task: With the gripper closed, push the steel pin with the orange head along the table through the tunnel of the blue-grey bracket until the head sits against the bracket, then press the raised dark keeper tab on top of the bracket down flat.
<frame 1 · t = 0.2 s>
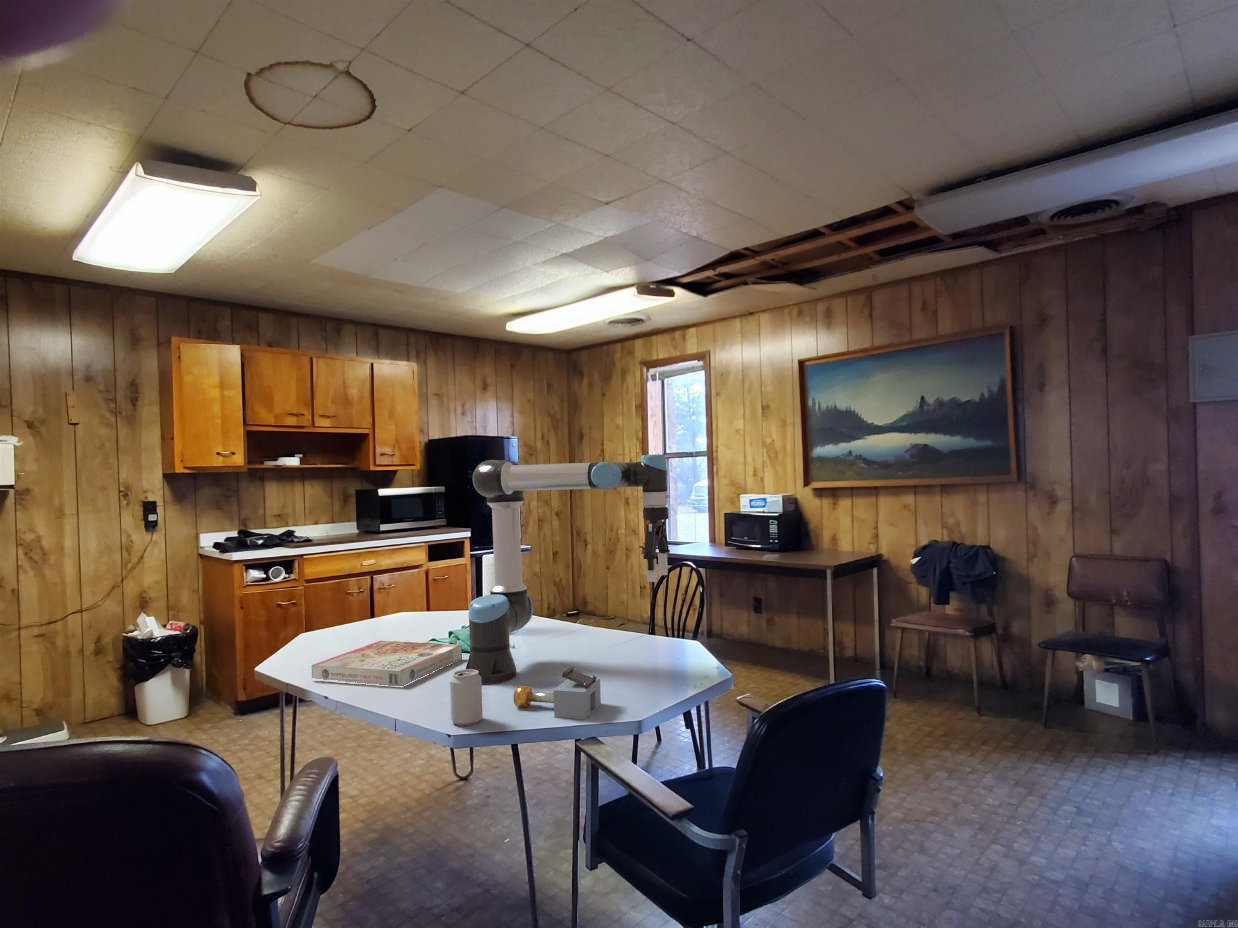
hand: (657, 578, 207), 28 cm above the table, tool pointing down, fingers open, 13 cm apart
keeper: (579, 676, 175), point 8 cm above the table, hinge at 19.0°, touching bracket
pin: (541, 697, 178), point 3 cm above the table, slide at 0.0 cm
can: (467, 722, 170), on the table
bracket: (578, 709, 175), on the table
pizza box: (390, 672, 220), on the table
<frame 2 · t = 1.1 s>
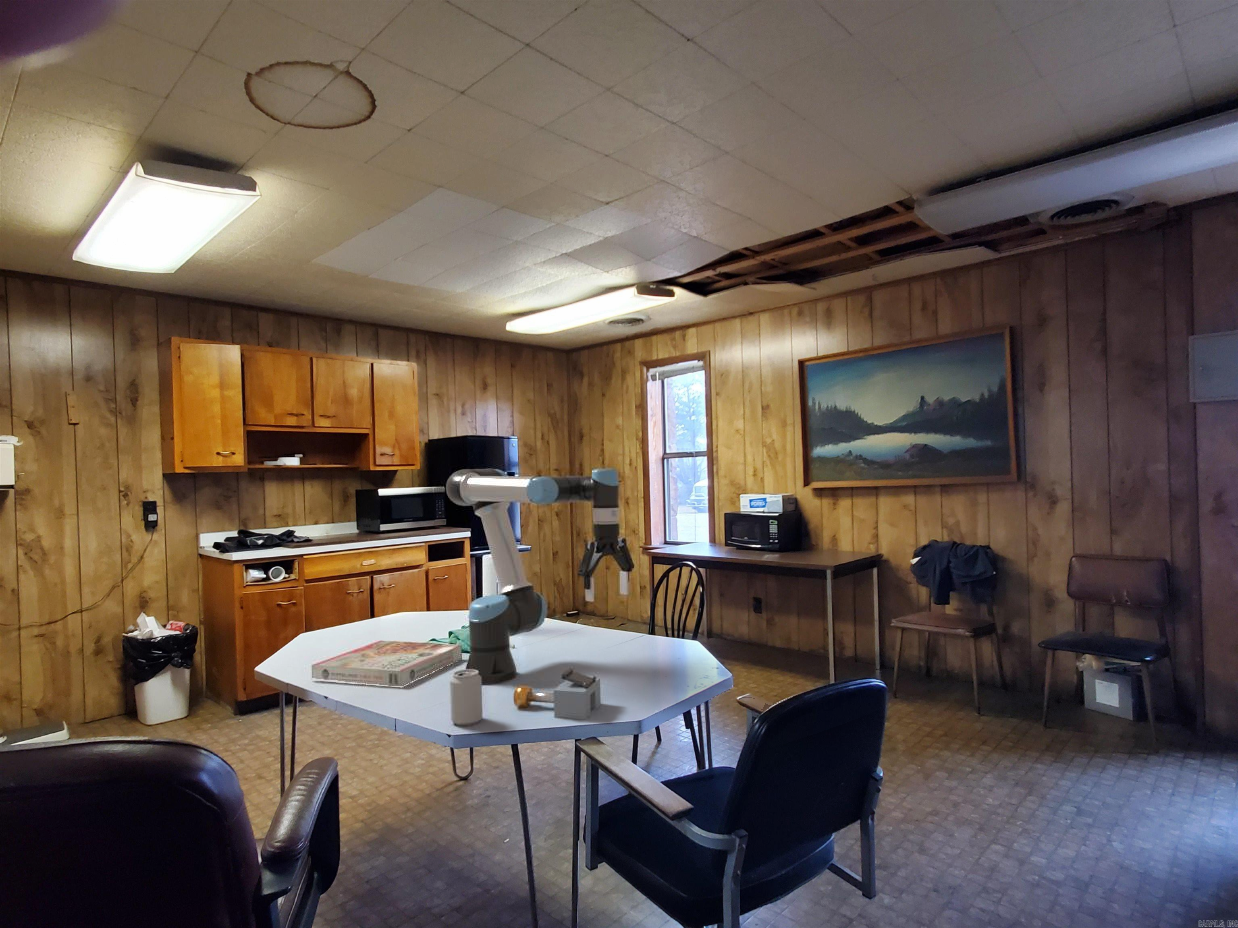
hand: (607, 597, 199), 24 cm above the table, tool pointing down, fingers open, 13 cm apart
keeper: (578, 677, 175), point 8 cm above the table, hinge at 14.6°
everything else where it was.
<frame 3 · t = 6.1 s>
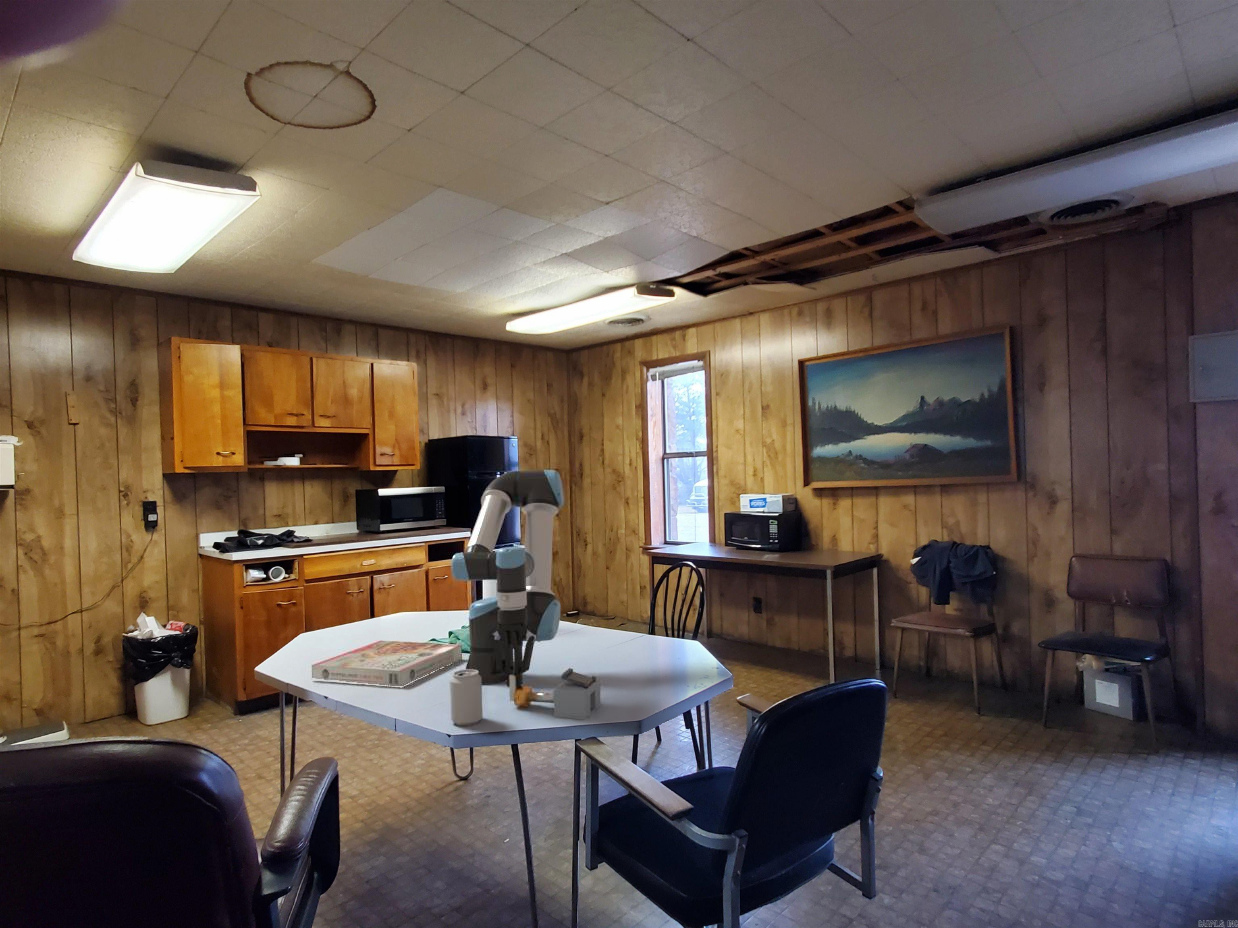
hand: (515, 699, 180), 2 cm above the table, tool pointing down, fingers closed
keeper: (578, 677, 175), point 8 cm above the table, hinge at 14.2°
pin: (541, 697, 178), point 3 cm above the table, slide at 0.1 cm, touching gripper
everything else where it was.
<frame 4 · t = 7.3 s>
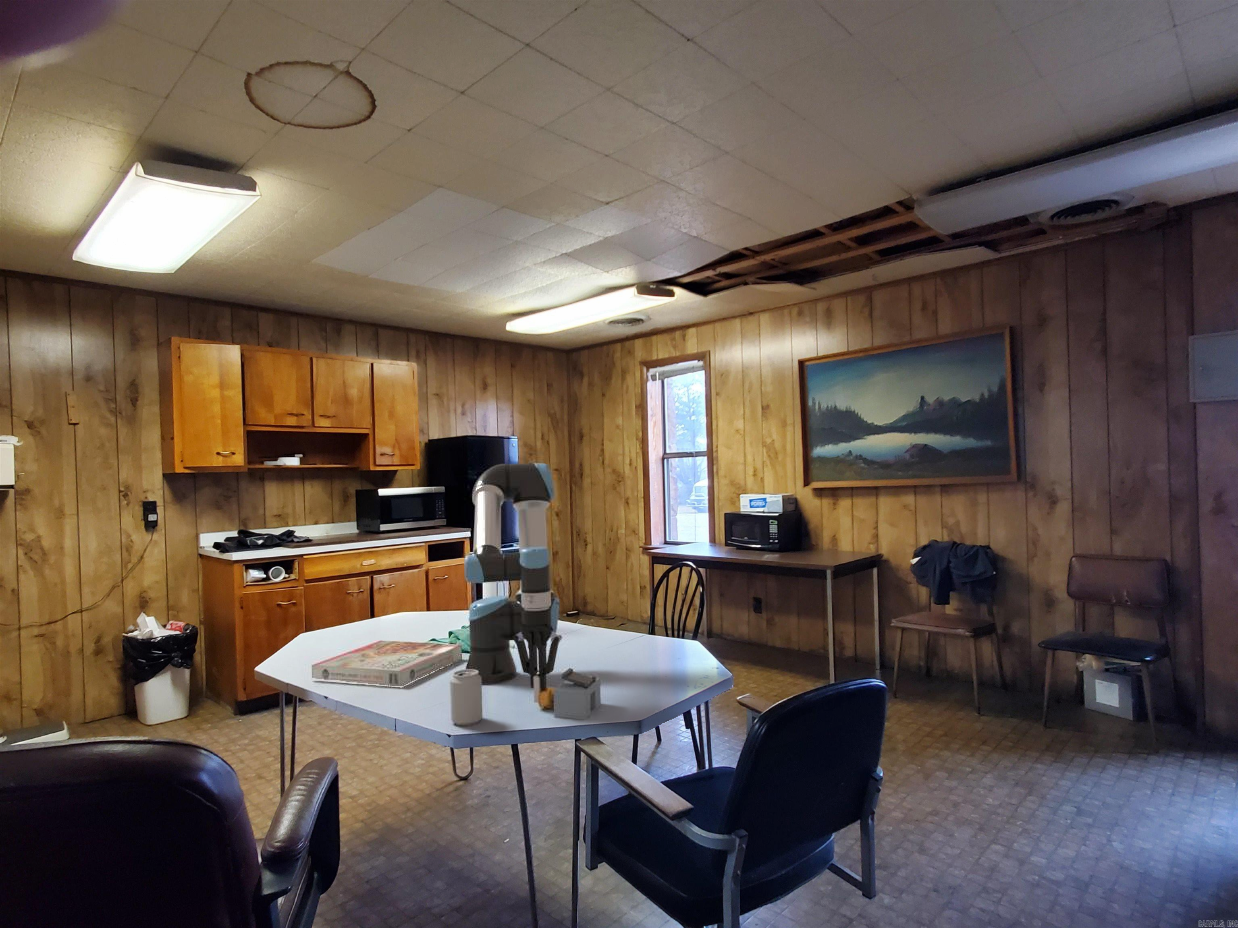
hand: (539, 700, 178), 2 cm above the table, tool pointing down, fingers closed
pin: (565, 698, 176), point 3 cm above the table, slide at 6.8 cm, touching gripper
everything else where it was.
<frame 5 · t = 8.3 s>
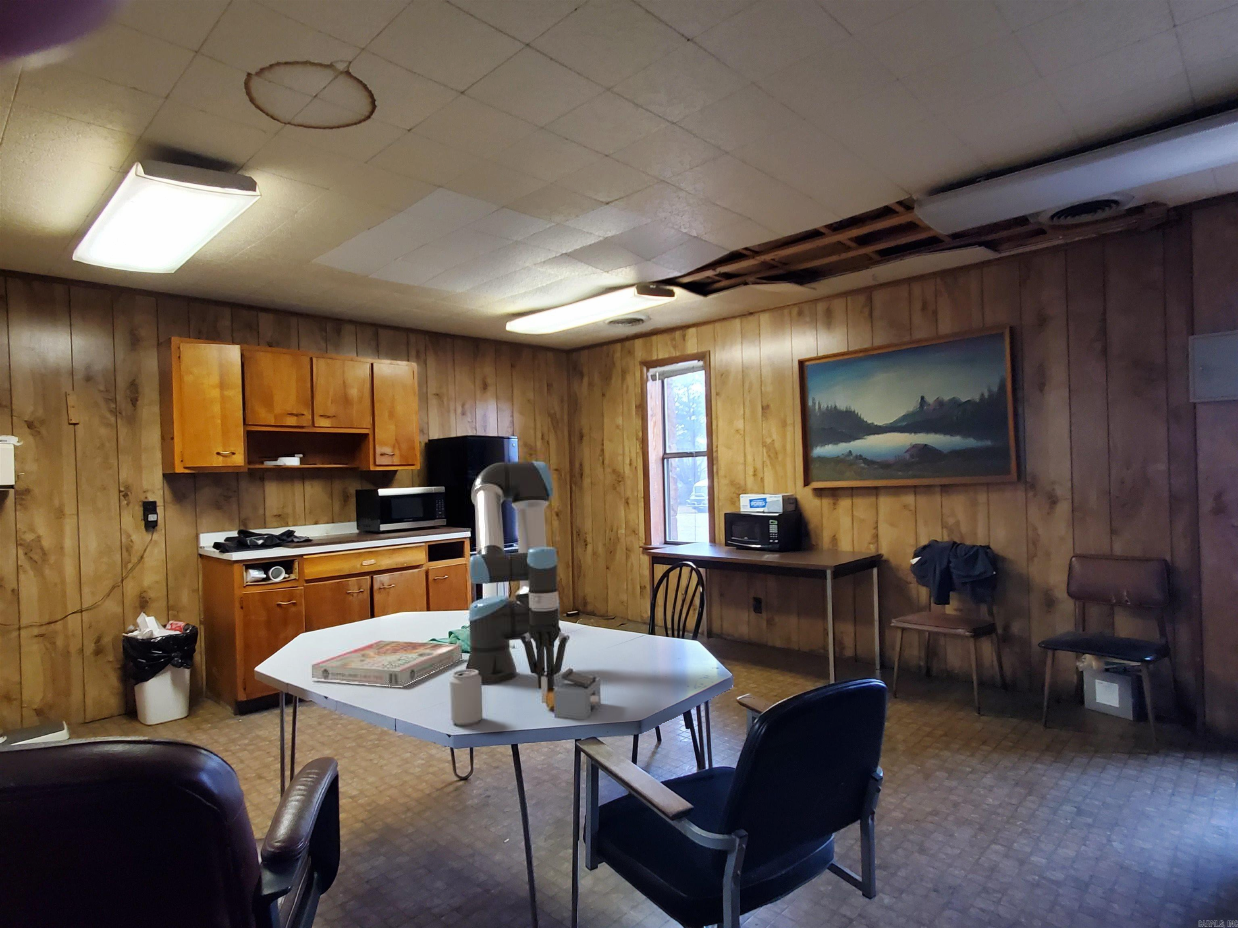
hand: (546, 701, 178), 2 cm above the table, tool pointing down, fingers closed
pin: (573, 699, 176), point 3 cm above the table, slide at 8.8 cm, touching gripper
everything else where it was.
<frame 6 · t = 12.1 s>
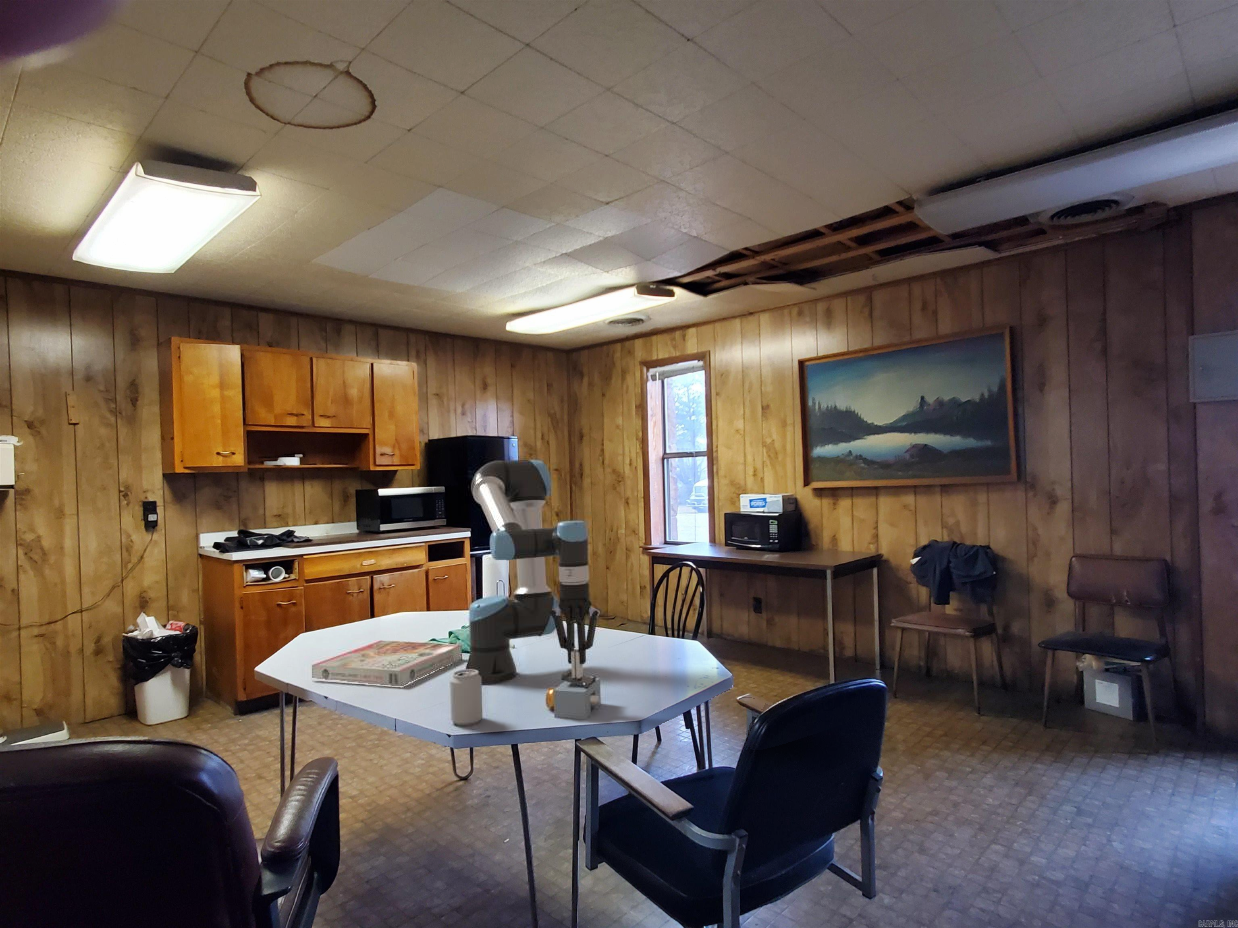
hand: (577, 676, 175), 8 cm above the table, tool pointing down, fingers closed, pressing on keeper
keeper: (578, 678, 175), point 8 cm above the table, hinge at 11.8°, touching gripper
pin: (573, 699, 176), point 3 cm above the table, slide at 8.9 cm
everything else where it was.
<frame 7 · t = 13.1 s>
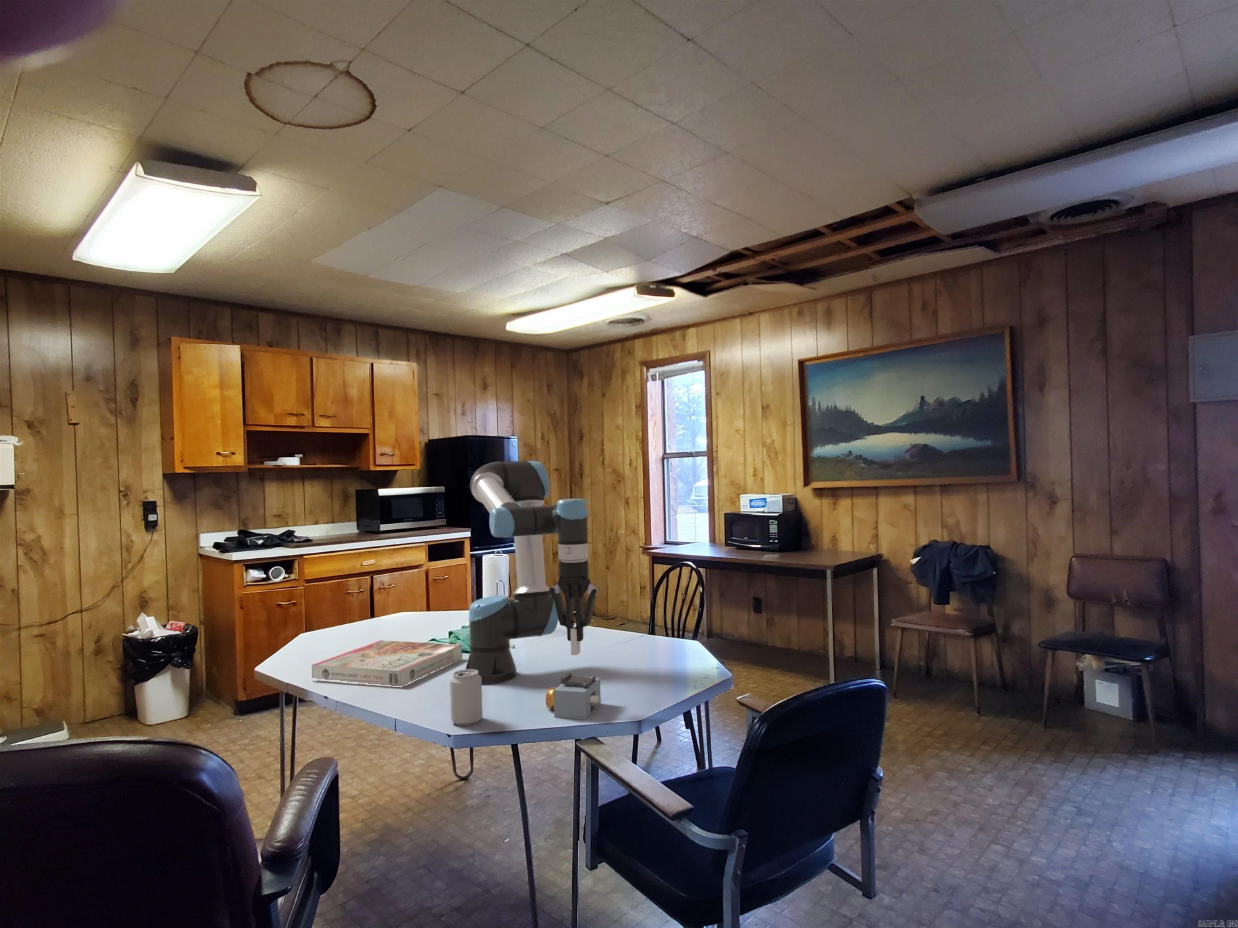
hand: (575, 653, 176), 14 cm above the table, tool pointing down, fingers closed
keeper: (578, 679, 175), point 8 cm above the table, hinge at 4.2°
everything else where it was.
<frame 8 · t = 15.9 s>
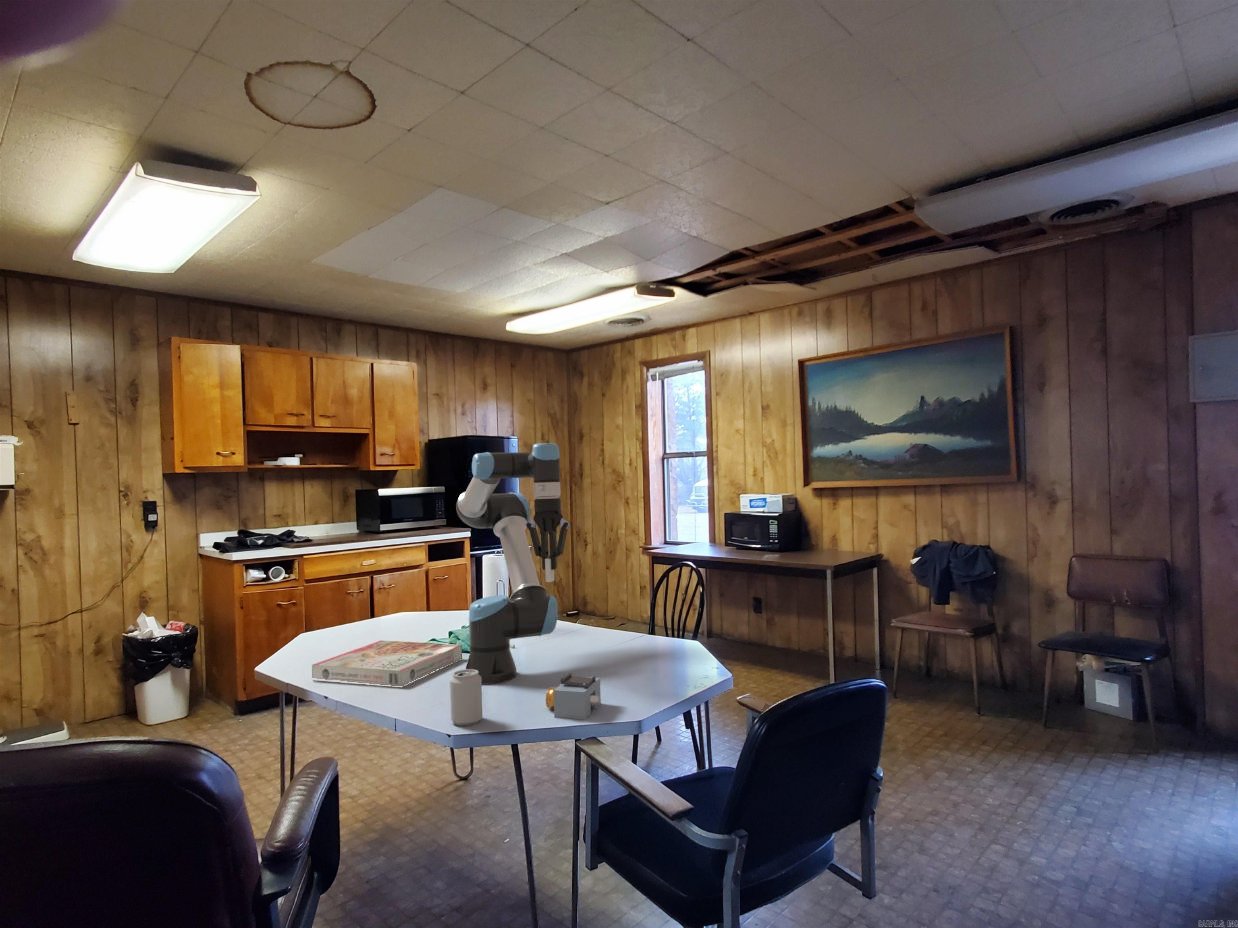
hand: (550, 581, 197), 29 cm above the table, tool pointing down, fingers closed
keeper: (578, 679, 175), point 8 cm above the table, hinge at 3.7°
everything else where it was.
at the end: pin slide at 8.9 cm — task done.
